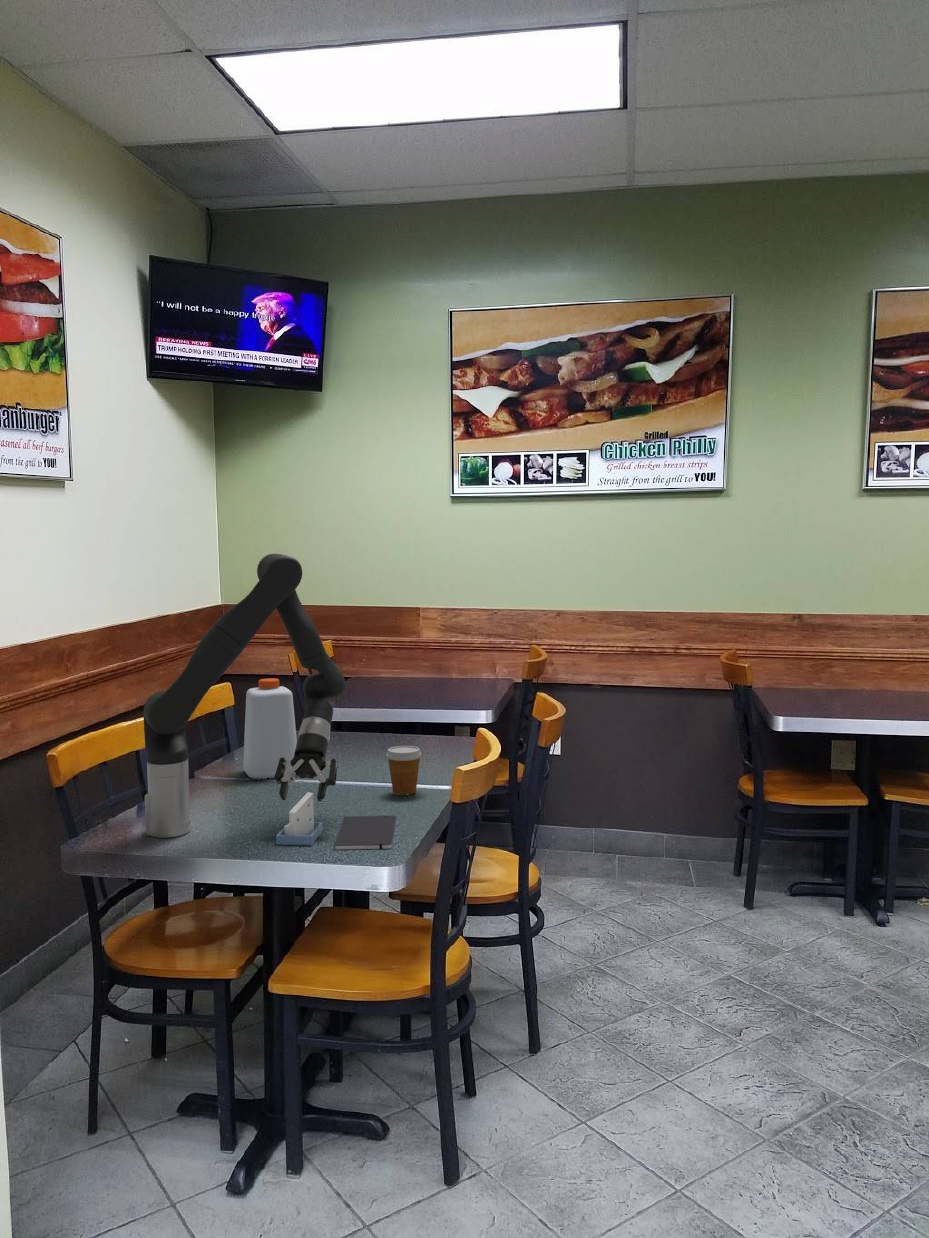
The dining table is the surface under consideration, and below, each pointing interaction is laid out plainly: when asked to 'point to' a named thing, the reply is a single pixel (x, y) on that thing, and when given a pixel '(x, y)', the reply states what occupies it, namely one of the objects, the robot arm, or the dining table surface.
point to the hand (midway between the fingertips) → (301, 799)
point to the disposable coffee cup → (404, 768)
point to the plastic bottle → (268, 729)
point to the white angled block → (301, 817)
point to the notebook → (366, 832)
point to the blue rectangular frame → (299, 836)
